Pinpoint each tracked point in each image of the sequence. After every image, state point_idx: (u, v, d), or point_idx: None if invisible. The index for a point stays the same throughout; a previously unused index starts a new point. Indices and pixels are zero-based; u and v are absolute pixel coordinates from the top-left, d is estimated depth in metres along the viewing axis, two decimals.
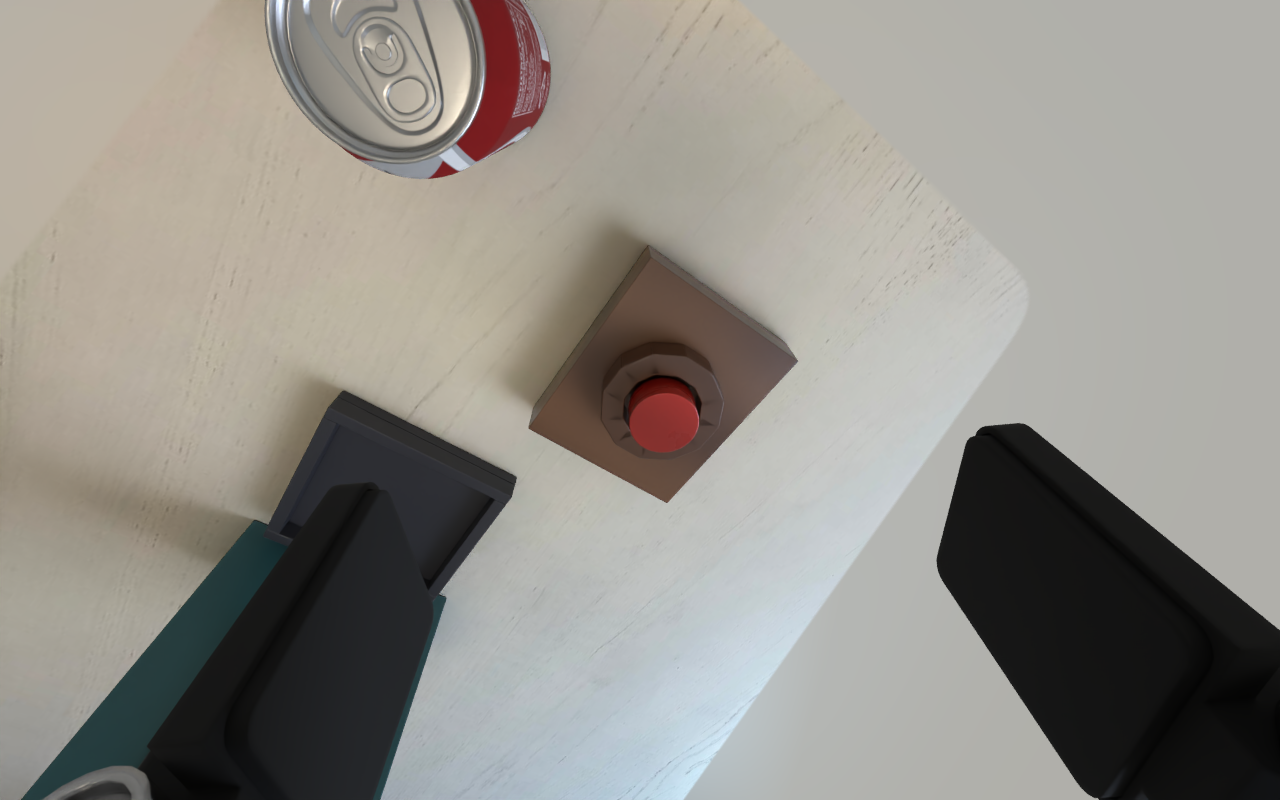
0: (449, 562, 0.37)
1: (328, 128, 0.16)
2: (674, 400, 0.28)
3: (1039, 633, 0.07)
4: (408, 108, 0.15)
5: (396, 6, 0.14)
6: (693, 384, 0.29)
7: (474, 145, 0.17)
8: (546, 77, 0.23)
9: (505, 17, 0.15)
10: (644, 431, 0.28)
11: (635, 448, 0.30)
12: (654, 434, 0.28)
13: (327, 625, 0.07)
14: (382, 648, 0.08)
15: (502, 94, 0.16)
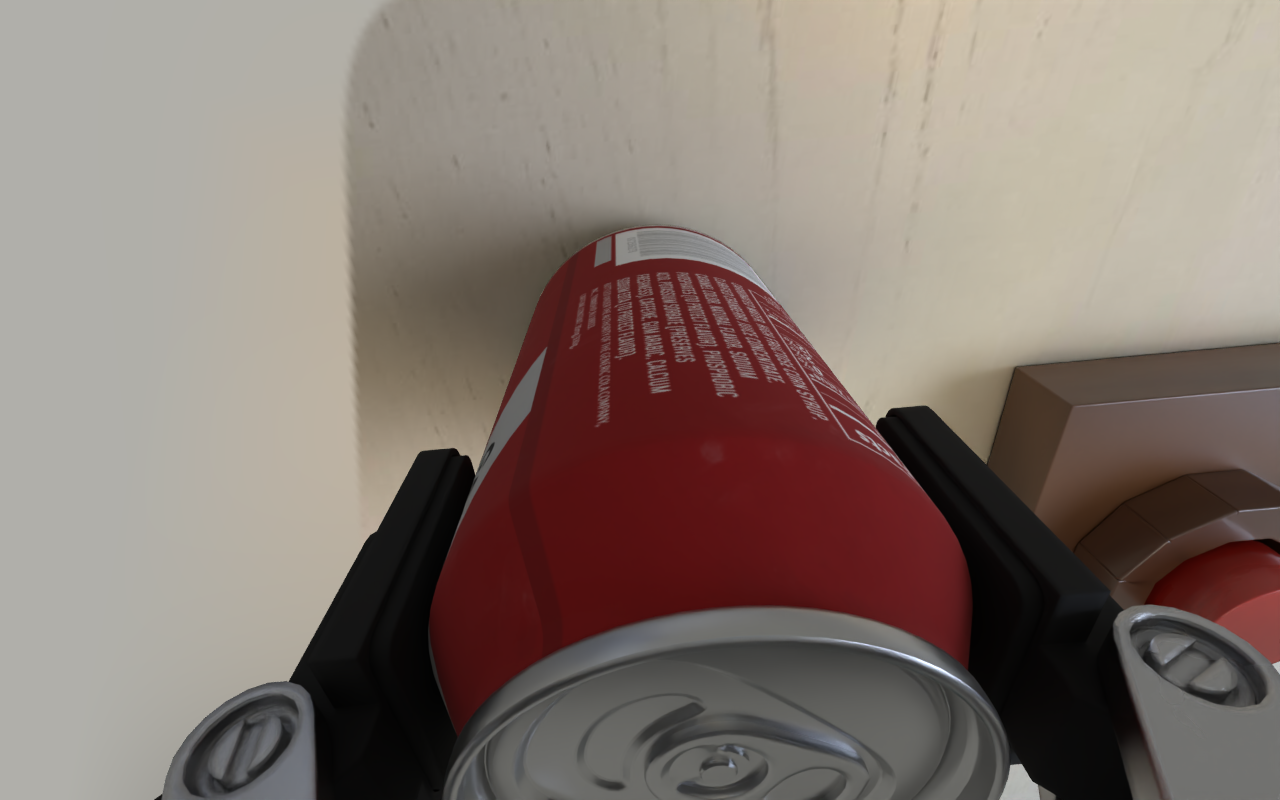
0: None
1: None
2: (1276, 599, 0.14)
3: None
4: (810, 798, 0.06)
5: (699, 702, 0.05)
6: (1267, 536, 0.15)
7: None
8: None
9: (899, 496, 0.06)
10: None
11: None
12: None
13: (434, 571, 0.07)
14: None
15: (969, 625, 0.06)
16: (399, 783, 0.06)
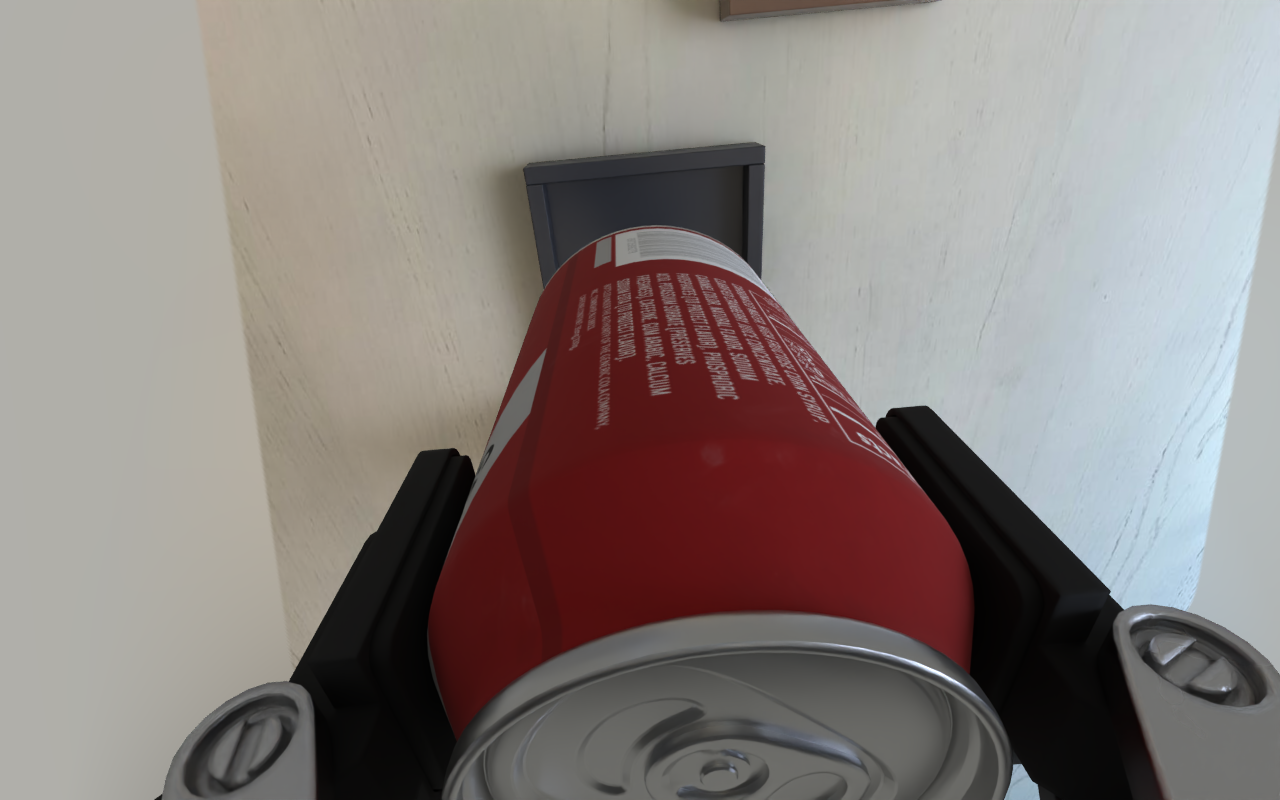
0: None
1: None
2: None
3: None
4: None
5: (699, 706, 0.05)
6: None
7: None
8: None
9: (901, 499, 0.06)
10: None
11: None
12: None
13: (434, 571, 0.07)
14: None
15: (971, 629, 0.06)
16: (399, 783, 0.06)
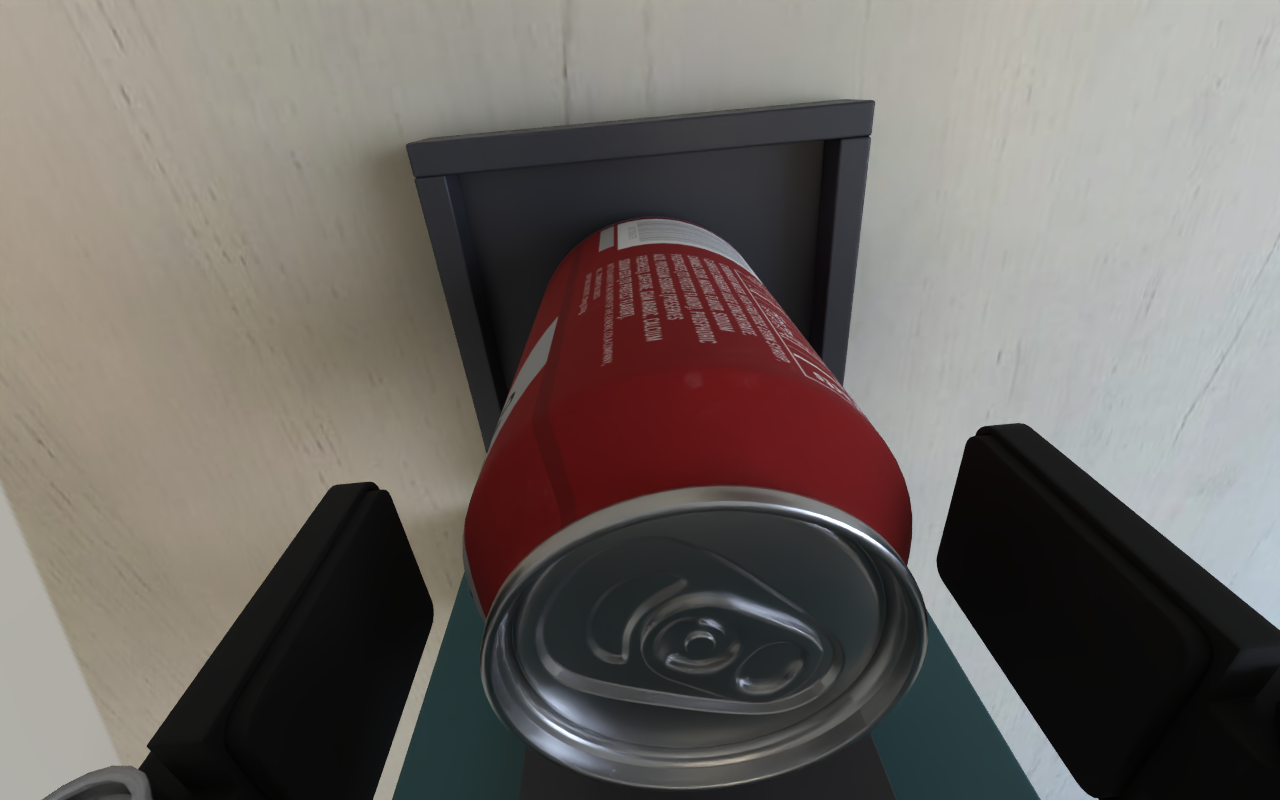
0: None
1: (674, 762, 0.08)
2: None
3: (1039, 633, 0.07)
4: (776, 674, 0.08)
5: (684, 579, 0.07)
6: None
7: None
8: None
9: (843, 418, 0.07)
10: None
11: None
12: None
13: (327, 625, 0.07)
14: (382, 648, 0.08)
15: (905, 530, 0.07)
16: None
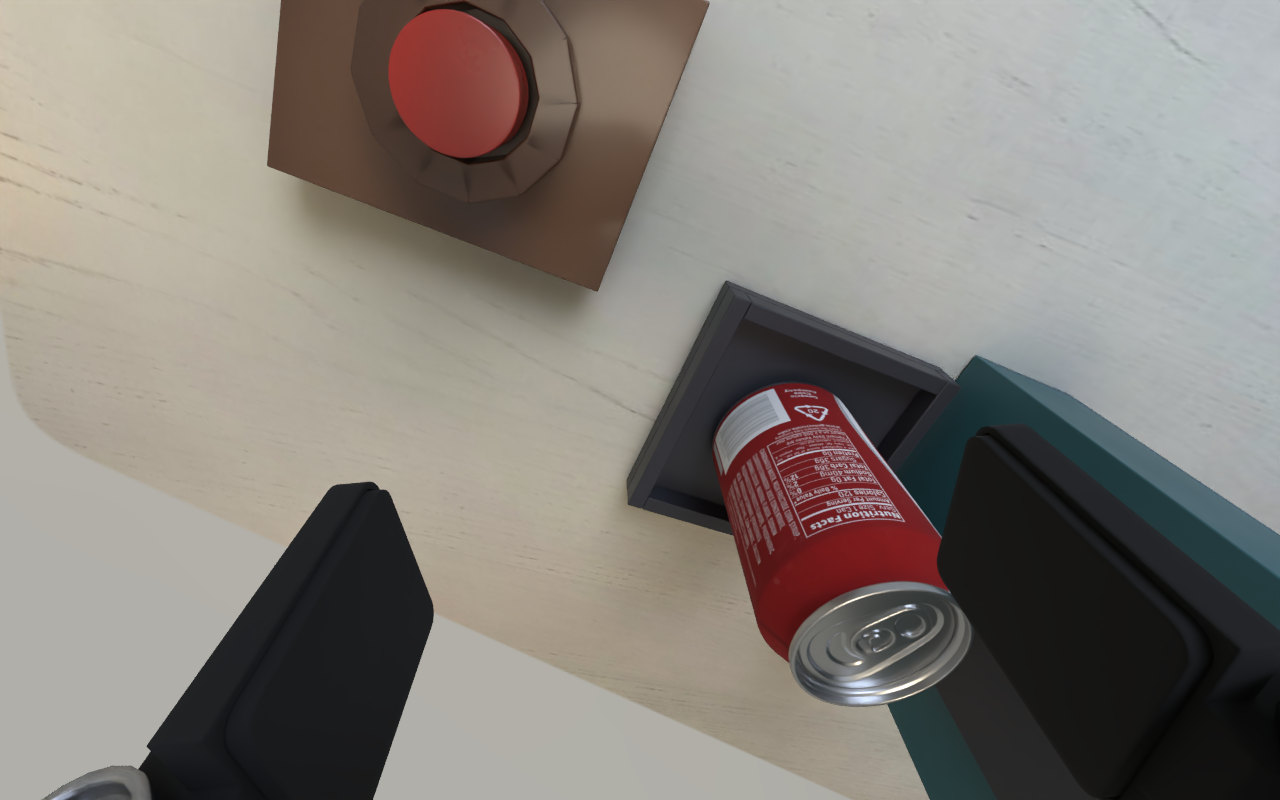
0: (873, 368, 0.24)
1: (934, 668, 0.18)
2: (400, 81, 0.15)
3: (1039, 633, 0.07)
4: (918, 622, 0.17)
5: (842, 633, 0.17)
6: None
7: None
8: (796, 401, 0.23)
9: (828, 545, 0.17)
10: (482, 123, 0.16)
11: (558, 120, 0.17)
12: (482, 102, 0.15)
13: (327, 625, 0.07)
14: (382, 648, 0.08)
15: (896, 547, 0.16)
16: None
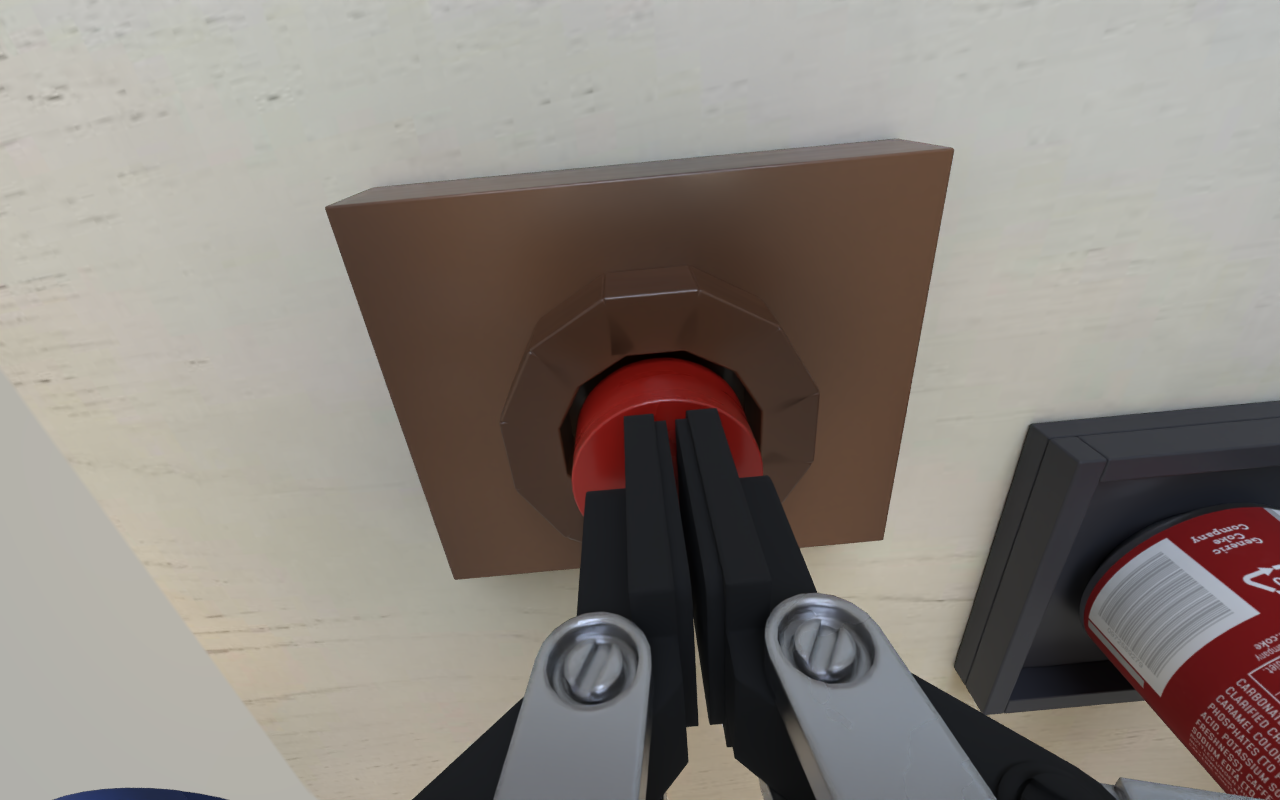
0: None
1: None
2: None
3: (694, 588, 0.08)
4: None
5: None
6: (555, 436, 0.11)
7: None
8: (1234, 563, 0.15)
9: None
10: None
11: (797, 422, 0.11)
12: None
13: None
14: None
15: None
16: None
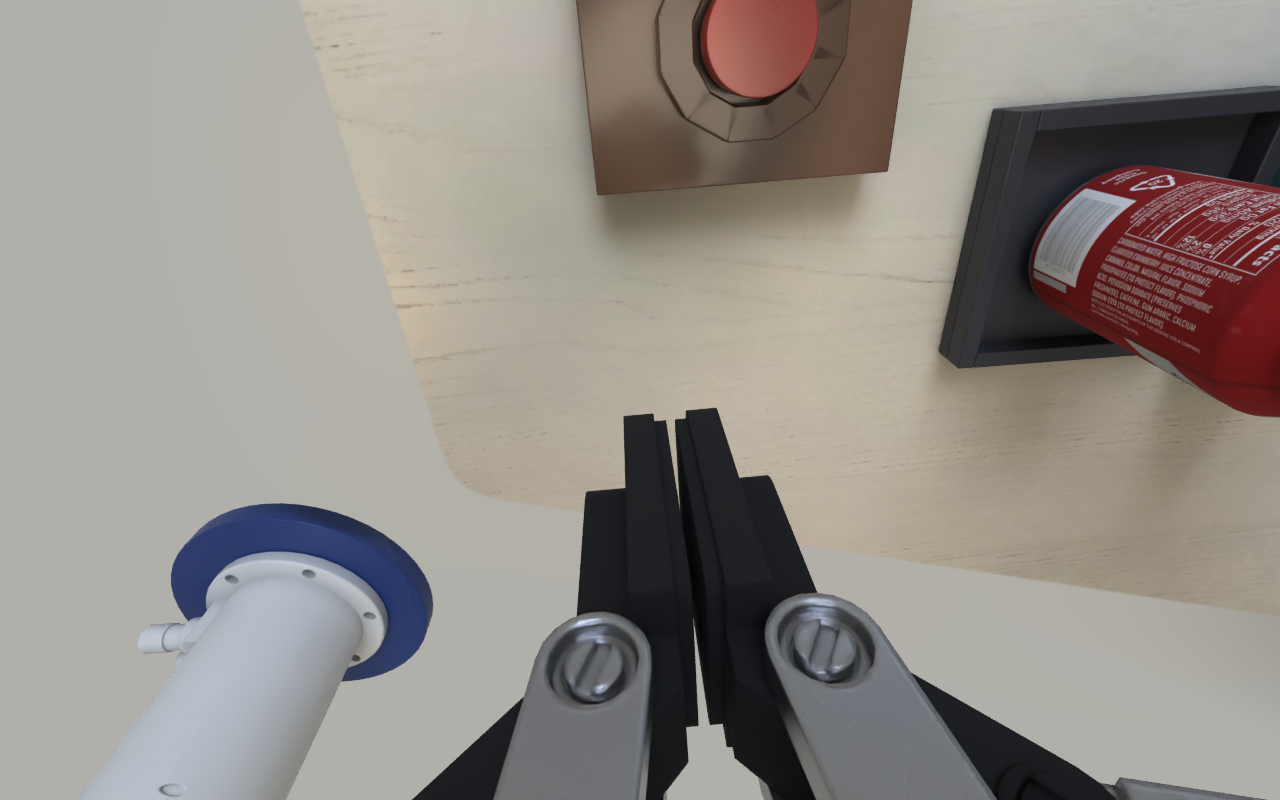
0: (1197, 116, 0.22)
1: None
2: (718, 53, 0.18)
3: (694, 588, 0.08)
4: None
5: None
6: (689, 27, 0.19)
7: None
8: (1126, 185, 0.22)
9: None
10: (789, 53, 0.18)
11: (837, 21, 0.19)
12: (786, 34, 0.18)
13: None
14: None
15: None
16: None
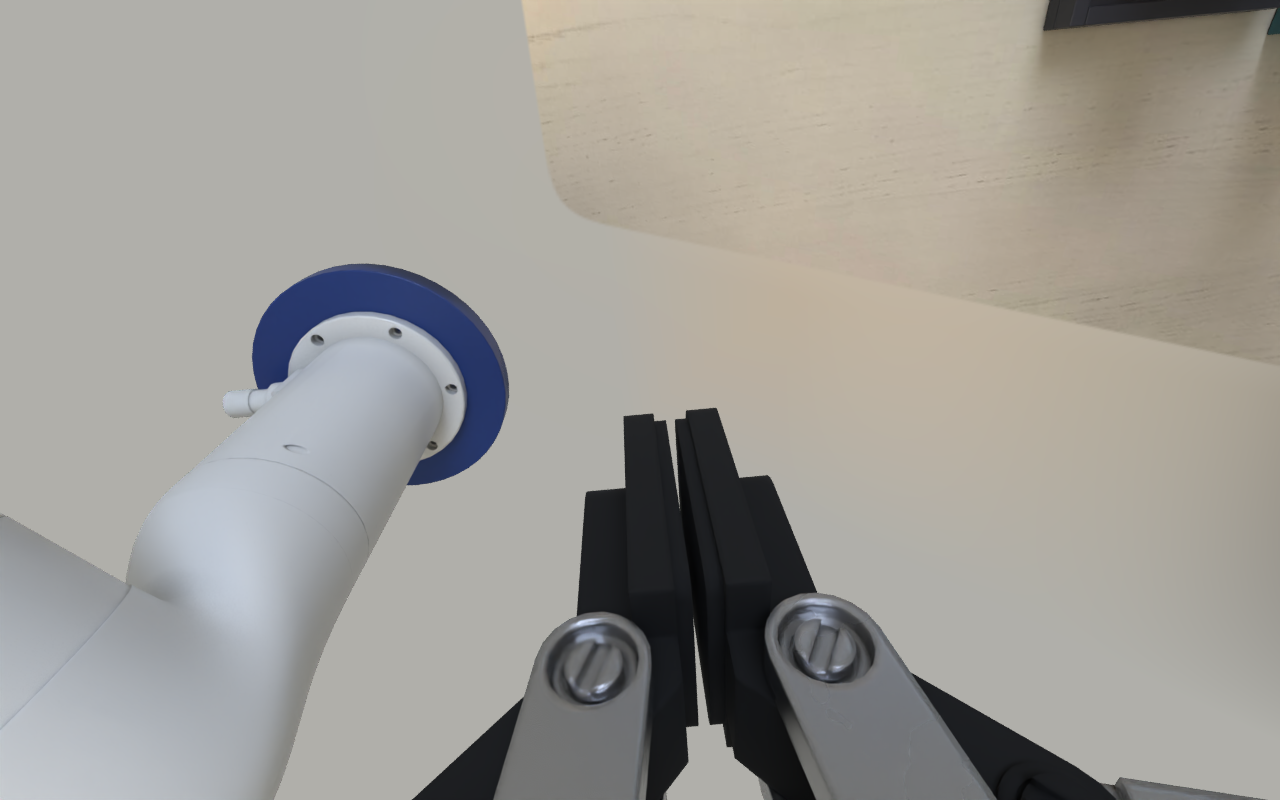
0: None
1: None
2: None
3: (694, 588, 0.08)
4: None
5: None
6: None
7: None
8: None
9: None
10: None
11: None
12: None
13: None
14: None
15: None
16: None
